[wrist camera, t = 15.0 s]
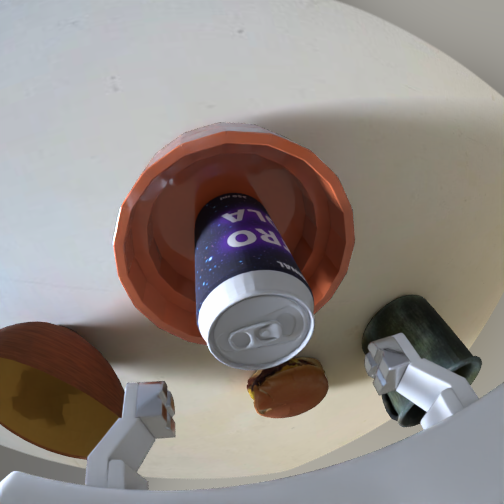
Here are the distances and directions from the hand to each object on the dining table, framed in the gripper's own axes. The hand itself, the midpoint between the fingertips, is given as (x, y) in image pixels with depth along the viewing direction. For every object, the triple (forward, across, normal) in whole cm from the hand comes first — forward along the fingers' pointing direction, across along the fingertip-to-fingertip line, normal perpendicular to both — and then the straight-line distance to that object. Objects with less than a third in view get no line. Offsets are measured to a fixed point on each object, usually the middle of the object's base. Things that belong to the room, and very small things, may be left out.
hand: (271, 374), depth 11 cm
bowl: (+15, +20, +12) cm, 27 cm away
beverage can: (+14, 0, 0) cm, 15 cm away
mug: (+15, -18, +19) cm, 30 cm away
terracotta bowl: (+15, 0, 0) cm, 15 cm away
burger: (+15, -4, +22) cm, 27 cm away
